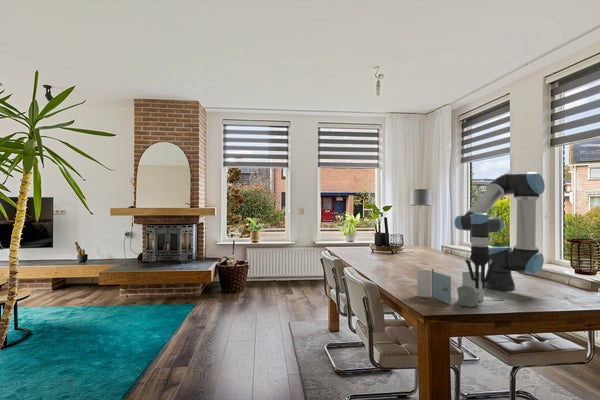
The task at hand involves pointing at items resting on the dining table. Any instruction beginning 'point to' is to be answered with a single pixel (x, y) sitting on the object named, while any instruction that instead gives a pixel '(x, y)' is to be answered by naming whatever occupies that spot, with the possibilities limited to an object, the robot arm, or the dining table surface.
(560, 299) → the dining table surface
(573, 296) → the dining table surface
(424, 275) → the wall
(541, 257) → the robot arm
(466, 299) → the decorative stone
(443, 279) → the door
